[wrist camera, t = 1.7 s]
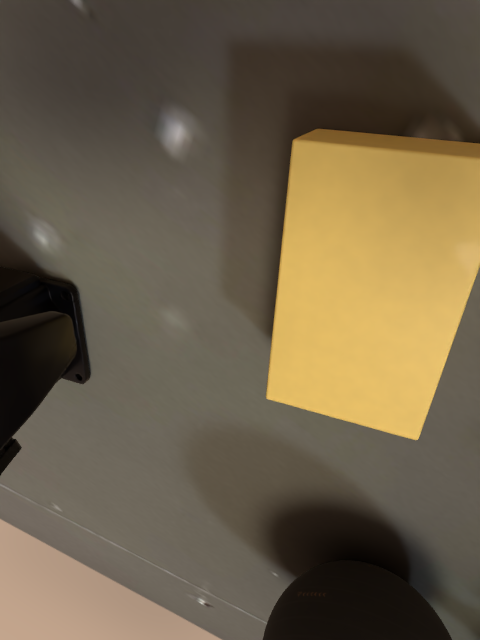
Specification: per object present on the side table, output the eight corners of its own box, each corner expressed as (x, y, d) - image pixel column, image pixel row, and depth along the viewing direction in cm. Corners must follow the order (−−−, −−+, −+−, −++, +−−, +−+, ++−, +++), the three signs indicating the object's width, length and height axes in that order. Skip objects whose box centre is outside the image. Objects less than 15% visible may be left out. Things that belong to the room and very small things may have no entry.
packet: (498, 144, 14) (517, 161, 11) (418, 387, 19) (418, 441, 16) (315, 128, 16) (291, 138, 13) (287, 355, 21) (264, 399, 18)
